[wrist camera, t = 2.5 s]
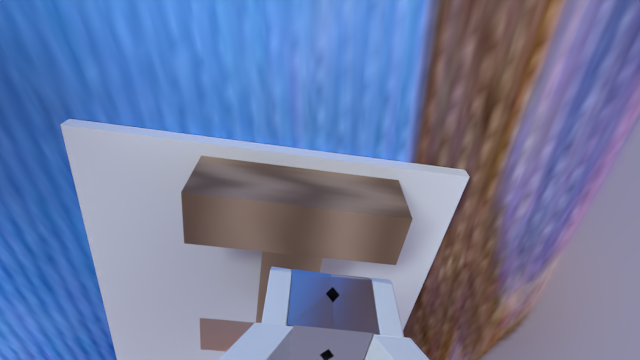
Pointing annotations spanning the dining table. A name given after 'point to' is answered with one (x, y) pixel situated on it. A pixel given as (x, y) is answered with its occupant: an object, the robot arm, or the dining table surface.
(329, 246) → the t block
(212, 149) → the mat
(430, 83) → the dining table surface
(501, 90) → the dining table surface
